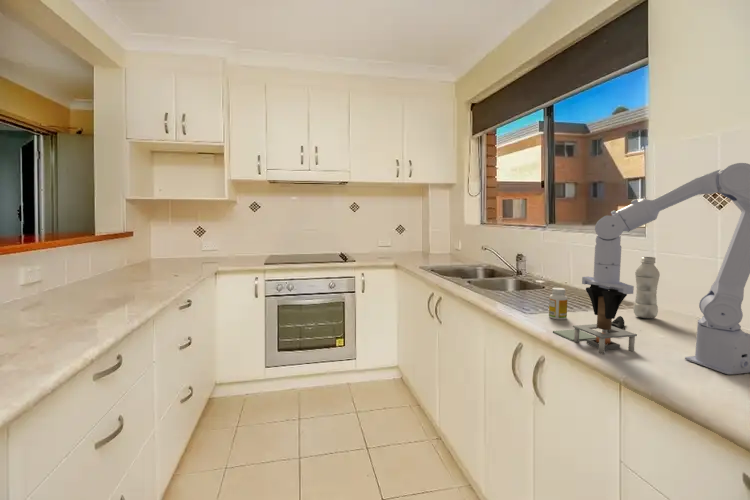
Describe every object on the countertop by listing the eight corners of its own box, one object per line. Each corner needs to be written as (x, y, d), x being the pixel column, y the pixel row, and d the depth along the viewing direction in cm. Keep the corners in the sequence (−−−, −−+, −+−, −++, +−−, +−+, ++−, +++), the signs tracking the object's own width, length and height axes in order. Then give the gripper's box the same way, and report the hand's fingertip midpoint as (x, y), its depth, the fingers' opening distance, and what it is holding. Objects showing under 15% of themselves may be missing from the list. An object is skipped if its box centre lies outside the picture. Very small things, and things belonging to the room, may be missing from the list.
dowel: (614, 329, 98) (616, 298, 97) (603, 330, 97) (605, 298, 97) (604, 326, 101) (606, 295, 101) (593, 326, 101) (595, 296, 100)
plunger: (613, 343, 98) (613, 335, 98) (602, 344, 98) (603, 336, 98) (603, 339, 102) (604, 332, 101) (593, 340, 101) (593, 333, 101)
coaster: (598, 339, 105) (598, 337, 105) (572, 341, 104) (572, 339, 104) (577, 330, 113) (577, 329, 113) (552, 332, 111) (553, 330, 111)
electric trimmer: (627, 326, 119) (628, 316, 119) (618, 338, 107) (619, 326, 107) (613, 324, 121) (613, 314, 121) (603, 335, 110) (603, 324, 109)
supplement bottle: (567, 317, 128) (568, 288, 128) (565, 320, 124) (567, 290, 123) (549, 314, 131) (550, 286, 130) (547, 318, 127) (548, 289, 126)
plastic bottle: (662, 320, 124) (666, 258, 122) (638, 320, 125) (642, 258, 123) (650, 315, 130) (654, 256, 128) (628, 315, 131) (632, 256, 129)
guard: (636, 351, 96) (637, 334, 96) (601, 353, 94) (602, 337, 93) (604, 338, 106) (605, 323, 105) (572, 341, 104) (573, 325, 103)
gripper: (573, 260, 104) (570, 310, 105) (616, 268, 90) (613, 325, 91) (595, 260, 106) (593, 309, 107) (642, 267, 91) (638, 323, 93)
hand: (604, 316), depth 99 cm, fingers closed on dowel, 3 cm apart
